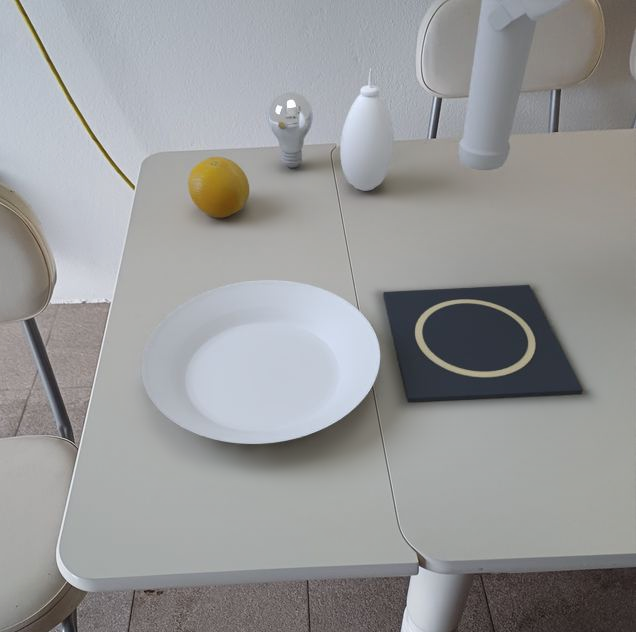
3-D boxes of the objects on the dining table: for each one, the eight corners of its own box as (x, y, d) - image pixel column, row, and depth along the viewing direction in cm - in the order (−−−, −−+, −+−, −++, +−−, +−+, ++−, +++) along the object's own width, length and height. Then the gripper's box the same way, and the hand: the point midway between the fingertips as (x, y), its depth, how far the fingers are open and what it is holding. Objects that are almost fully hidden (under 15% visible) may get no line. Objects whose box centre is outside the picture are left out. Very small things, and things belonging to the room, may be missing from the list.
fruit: (260, 205, 97) (257, 155, 92) (233, 231, 92) (227, 180, 87) (211, 193, 100) (205, 144, 95) (181, 218, 95) (173, 168, 90)
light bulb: (299, 181, 102) (297, 106, 94) (262, 171, 105) (257, 98, 97) (321, 162, 107) (320, 89, 98) (285, 154, 109) (282, 82, 101)
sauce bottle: (384, 203, 96) (393, 80, 84) (334, 197, 98) (335, 76, 86) (394, 178, 102) (404, 60, 89) (346, 173, 104) (349, 56, 91)
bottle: (454, 168, 68) (500, -127, 51) (459, 146, 71) (504, -135, 54) (505, 173, 66) (569, -127, 49) (508, 151, 70) (569, -135, 53)
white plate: (397, 323, 76) (400, 299, 74) (346, 494, 59) (347, 470, 56) (202, 289, 82) (199, 266, 80) (104, 435, 65) (96, 411, 63)
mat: (528, 288, 80) (529, 283, 79) (581, 393, 67) (583, 388, 66) (383, 295, 80) (383, 290, 80) (407, 402, 67) (408, 397, 66)
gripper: (652, -165, 55) (512, -42, 65) (611, -133, 42) (446, 14, 52) (689, -99, 56) (547, 11, 66) (662, -49, 43) (490, 79, 54)
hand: (502, 13), depth 59 cm, fingers closed on bottle, 5 cm apart
